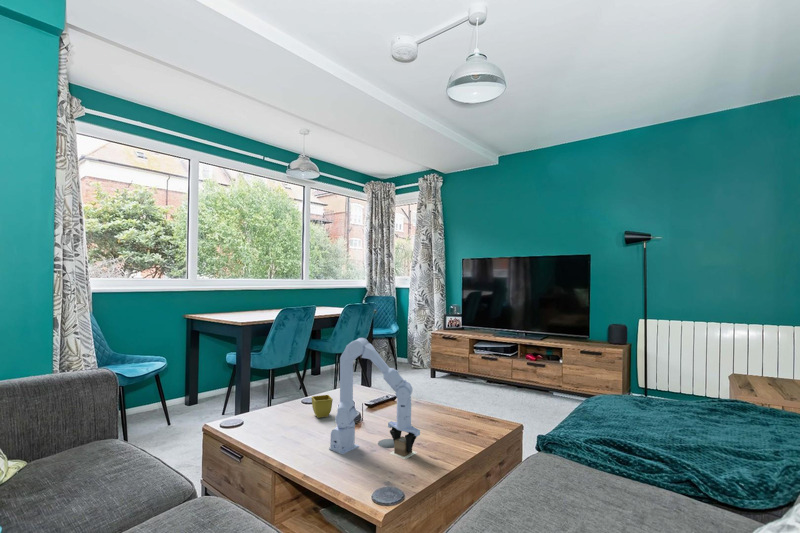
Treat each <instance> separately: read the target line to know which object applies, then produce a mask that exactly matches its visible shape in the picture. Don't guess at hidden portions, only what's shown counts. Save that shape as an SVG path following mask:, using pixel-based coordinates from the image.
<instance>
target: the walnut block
mask: <svg viewBox="0 0 800 533" xmlns="http://www.w3.org/2000/svg"><path fill="white" fill-rule="evenodd" d="M393 451H394V453H396V454H398V455H401V456H404V457H405V456H407V455H409V454H410V453H412V451H413V450H412V451H411V452H410V453H407V444H406V438H405V436H404V435H403V436H402V435H401V437H400V438H398V439H396V440H395V442H394V449H393Z"/></svg>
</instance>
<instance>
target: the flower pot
mask: <svg viewBox="0 0 800 533" xmlns="http://www.w3.org/2000/svg"><path fill="white" fill-rule="evenodd" d="M311 406H312V410H313V413H314V415H315V416H316V417H317V418H318V419H320V418H326V417H329V415H330V414H331V412H332V407H333V398H332V396H330V395H329V394H323V395H313V396H311Z"/></svg>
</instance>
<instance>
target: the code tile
mask: <svg viewBox="0 0 800 533" xmlns="http://www.w3.org/2000/svg"><path fill="white" fill-rule="evenodd" d="M388 454H389V455H392V456H395V457H397V458H400V459H403V460H406V459H409V458H410V457H412V456H414V455H416V454H418V452H417V451H415V450H412V453H410V454H409V455H407V456H405V457H404V456H401V455H398V454H396V453H394V450H393V451H390V452H389V453H388Z"/></svg>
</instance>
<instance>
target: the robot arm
mask: <svg viewBox="0 0 800 533" xmlns="http://www.w3.org/2000/svg"><path fill="white" fill-rule="evenodd" d="M360 356H361V358H362V359H368V360H370V362H371V363H372V364H374V366H376V368H377V369H378V370H379V371H380V372H381V373H382V374H383V376H382V379H383V380H384V381H385V382H386V383H387V385H389V387H390V388H391V389H392V390H393V392H395V397H396V400H397V401H396V421H392V420H390V421H389V422H388V423H387V428H388V429H390V430H389V433H390V435H391V439H393V440H394V442H395V440H396V439H398V438H400V437H402V432H404V433H407V434H405V435H404V437H405V438H406V444H407V453H410V452H411V451H413V446H414V443H415V442H416V439H417V437H419V436H421V429H418V428H417V427H415V426H412V396H411V395H412V394H413V387H412V384H411V383H410V382H409V381H407V380H406V379H404V378H403V377H402V375H400V373H399V372H400V371H399V369H395V368H394V367H390V366H389V365H388V364H387V363H386V361H385V360H384V359H383V357H382V356H381V355H380V354H379V352H378V351H377V350H376V348H375V347H374V345H373V344H372V343H370V342H369V341H368V339H366V338H365V337H358V338H357V339H355V340H352V341H351V342H349V343H348V344H347V345H345V348H344V351H343V352H342V353H341V355H340V357H339V403H338V407H337V410H336V411H337V413H336V415H335V417H334V421H335V424H336V426H335V428H334V429H333V428H332V430H331V432H330V447H329V448H328V449H329V450H331V451H333V452H335V453H339V454H340V455H344V454H347V453H349V452H350V451H351V452H352V451H353V450H355V449H357V448H359V447H360V445H359V444H357V443H355V439H356V438H355V437H356V423H355V419H356V417H357V415H358V412H357V409H356V406H355V400H354V396H353V395H354V361H355V360H356V359H357V358H359V357H360Z"/></svg>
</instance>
